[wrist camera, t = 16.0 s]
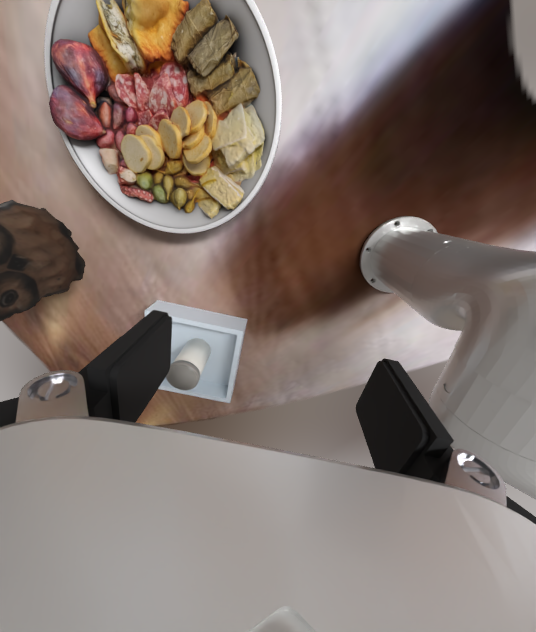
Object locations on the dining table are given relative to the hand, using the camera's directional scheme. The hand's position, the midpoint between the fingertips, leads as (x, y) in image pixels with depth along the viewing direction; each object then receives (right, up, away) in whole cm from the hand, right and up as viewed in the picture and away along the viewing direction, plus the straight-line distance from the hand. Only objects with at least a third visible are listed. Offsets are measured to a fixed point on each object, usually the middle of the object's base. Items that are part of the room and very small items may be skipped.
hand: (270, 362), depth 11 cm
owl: (-40, +15, +34) cm, 54 cm away
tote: (-15, -5, +41) cm, 44 cm away
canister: (-15, -5, +40) cm, 43 cm away
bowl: (-13, +31, +25) cm, 42 cm away
